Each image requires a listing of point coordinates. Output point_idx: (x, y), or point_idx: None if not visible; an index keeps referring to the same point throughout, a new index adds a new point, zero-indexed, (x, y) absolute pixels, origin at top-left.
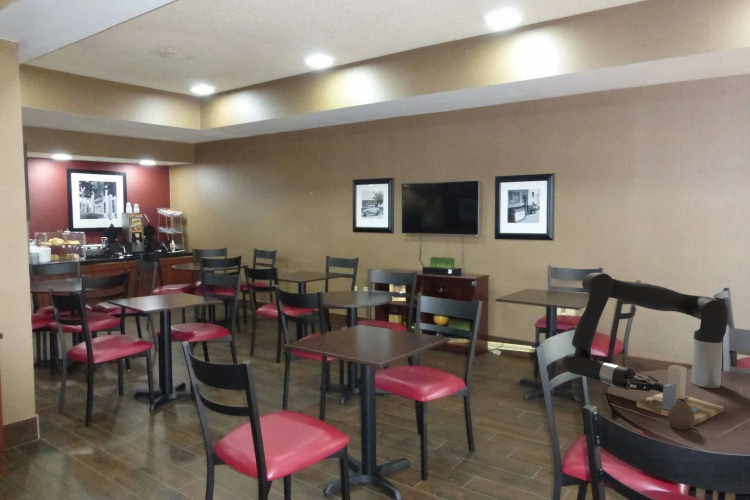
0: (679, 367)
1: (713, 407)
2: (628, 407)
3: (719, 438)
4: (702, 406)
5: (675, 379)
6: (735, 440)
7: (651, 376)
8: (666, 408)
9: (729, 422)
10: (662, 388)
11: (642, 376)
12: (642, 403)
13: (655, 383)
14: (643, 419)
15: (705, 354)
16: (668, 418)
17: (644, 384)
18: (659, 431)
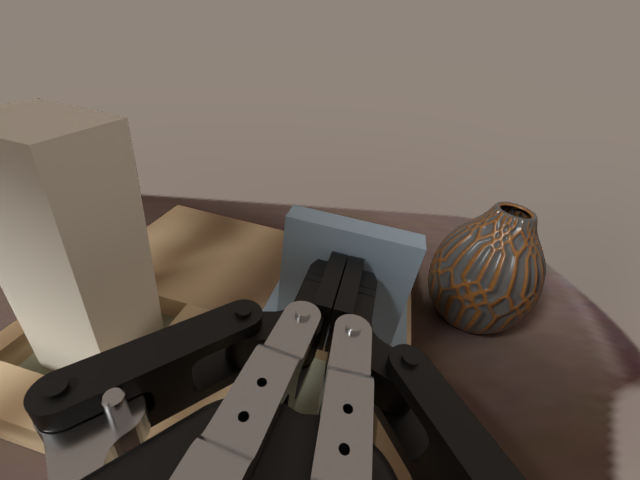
0: (49, 114)
1: (209, 222)
2: None
3: (433, 240)
4: (219, 244)
5: (119, 220)
6: (409, 220)
7: (69, 369)
8: (404, 336)
9: (275, 220)
10: (374, 284)
11: (221, 447)
12: None
13: (318, 318)
14: (551, 461)
15: None
16: (519, 321)
17: (447, 394)
18: (590, 367)
